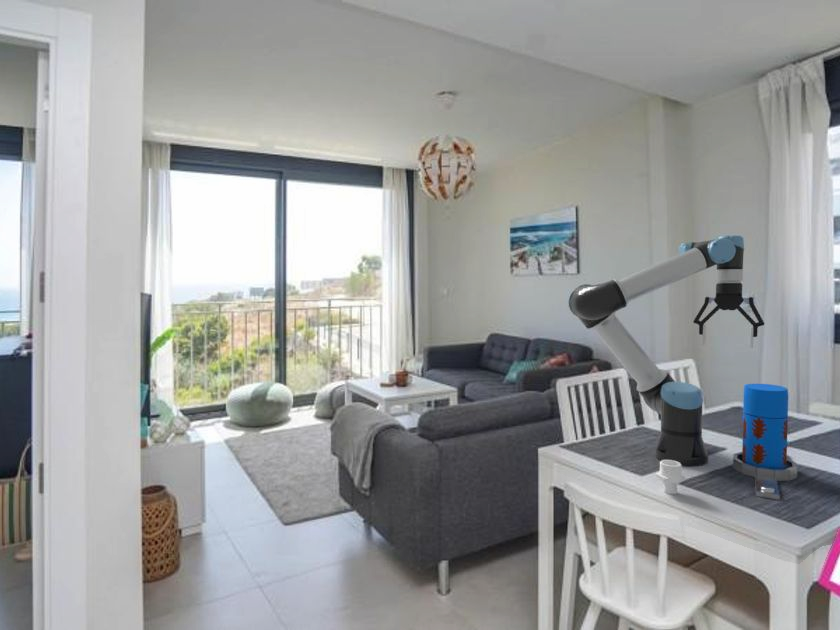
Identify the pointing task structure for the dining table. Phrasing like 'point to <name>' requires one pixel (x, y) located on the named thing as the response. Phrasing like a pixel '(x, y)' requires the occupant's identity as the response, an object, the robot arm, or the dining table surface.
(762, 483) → the grey handled tray
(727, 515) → the dining table surface
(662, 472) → the pipe fitting
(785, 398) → the thermos
